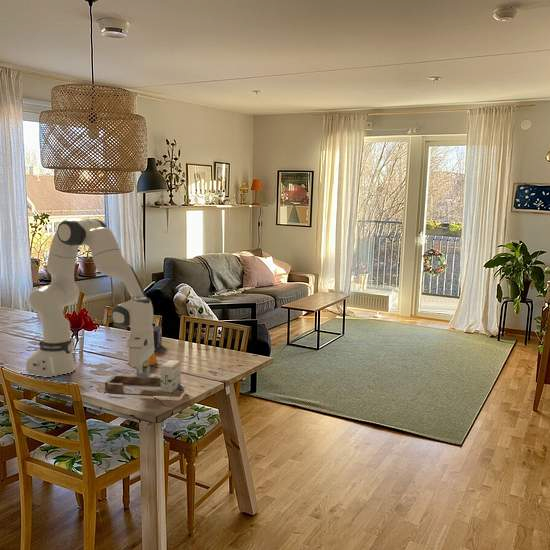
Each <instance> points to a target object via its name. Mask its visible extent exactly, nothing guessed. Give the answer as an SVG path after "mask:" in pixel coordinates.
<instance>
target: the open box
mask: <svg viewBox="0 0 550 550" xmlns="http://www.w3.org/2000/svg"><path fill="white" fill-rule="evenodd" d="M124 384H137V385H139V384H140V385H155V386H161V376H154V377H151V376H149V377H148V378H137V375H132V374H131V375H129V374H113V375H112V376H111V377H109V378H108V379H107V380H106V381H105V383H104V389H105V390H107V391H104V392H103V394H105V393H109V394H108V395H121V396H122V395H125V396H126V395H127V396H144V397H148V396H149V397H154V396H155V394H144V393H142V394H141V393H129V392H128V393H126V392H125V393H123V392H124Z"/></svg>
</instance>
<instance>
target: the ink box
mask: <svg viewBox="0 0 550 550" xmlns="http://www.w3.org/2000/svg"><path fill="white" fill-rule="evenodd" d="M159 367H160V369H159V370H160V377H161V385H160V392H165V393H167V392H168V393H172V392H174V391H175V390H176V389H178V388H179V387H181V360H176V359H175V360H174V359H173V360H172V359H169V360H168V361H166V362H164V363H163V364H161V365H160V366H159Z"/></svg>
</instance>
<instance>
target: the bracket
mask: <svg viewBox="0 0 550 550" xmlns="http://www.w3.org/2000/svg"><path fill="white" fill-rule="evenodd" d="M157 363H158V360H157V357H156V354H155V352H154V353H153V354H152V355H151V356H150V357H149V362H148V366H151V365H154V364H157ZM128 366H130V363H129V362H128ZM130 367H131V366H130ZM134 368H136V369H137V367H134Z"/></svg>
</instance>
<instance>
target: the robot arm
mask: <svg viewBox="0 0 550 550" xmlns="http://www.w3.org/2000/svg"><path fill="white" fill-rule="evenodd" d="M81 246H87V247H88V248H89V250H90V253H91V256H92V260H93V263H94V265H95V267H96V269H97V270H98V272H100V273H101V274H102V275H104V276H107V277H111V278H113V279H114V278H115V279H117V280H119V281H121V282H122V283H123V284H124V285H125V287H126V290H127V292H128V294H129V295H130V299H129V300H128V301H124V302H122V303H119V304H116V305H114V306H113V308H112V309H111V313H110V316H111V320H112V323H113V324H114V325H115V326H116V327H118V328H127V327H129V328H130V334H129V335H130V336H129V338H128V341H127V342H126V344H127V345H126V346H127V347H126V348H128V364H129V363H130V367H132V368H135V367H137V368H138V373H139V374H142V373H143V372H144V371H143V370H144V368H143V366H142V365H143V363H144V362H145V361H146V366H149V365H148V362H149V357H150V356H151V355H152V354H153V353H155V351H154V350H155V349H154V333H153V326H154V325H153V321H154V309H155V308H154V306H153V303H152V300H151V298H149V297H147V295H146V293H145V291H144V288H143V286H142V284H141V282H140V280H139V278H138V275H137V274H136V272H135V270H134V268H133V267H132V265H131V264H130V263H128V262H127V261H126V259H125V258H124V256H123V254H122V252H121V250H120V247H119V243H118V241H117V239H116V237H115V235H114V233H113V231H112V230H111V228H108V226H107V224H106V223H105V222H104V221H102V220H100V219H96V218H87V217H86V218H85V217H83V218H69V219H65V220H62V221H61V222H60V223H59V224H58V226H57V229H56V231H55V233H54V236H53V237H52V241H51V243H50V248H49V252H48V256H47V257H48V259H47V264H46V270H47V273H49V275H50V277H51V278H50V279H51V280H50V281H51V282H50V284H48V285H43V286H40V287H38V288H37V289H34V290H33V291H32V292H31V293H30V295H29V296H28V297H29V298H28V304H29V305H30V307H31V309H32V310H33V311H35V312H36V313H37V314H38V316H39V319H40V321H41V326H42V338H43V339H42V340H41V341H39V343H37V347H39V349H38V350H36V351H34V353H32V354H31V355H30V356H28V357H27V359H26V364H25V367H26V370H25V371H24V373H25V372H26V371H28V372H27V373H29V374H34V375H39V376H46V377H51V378H53V377H52V376H55V377H58V376H57V375H61V376H63V375H62V374H66V375H68V374H67V373H69V374H72V373H73V371H74V370H75V368H76V366H75V364H74V360H73V354H72V353H73V343H72V342H73V341H72V338H71V322H70V321H69V319H67V318H66V317H65V315H64V313H63V308H65V307H69V306H71V305H72V304H74V303H75V302H76V301H78V299H79V297H80V289H79V287H78V285H77V284H76V283H75V270H76V269H75V268H76V262H77V257H78V253H79V247H81ZM137 368H136V369H137ZM75 371H76V370H75ZM75 371H74V372H75ZM21 372H23V371H21V370H20V373H21ZM71 372H72V373H71Z"/></svg>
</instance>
